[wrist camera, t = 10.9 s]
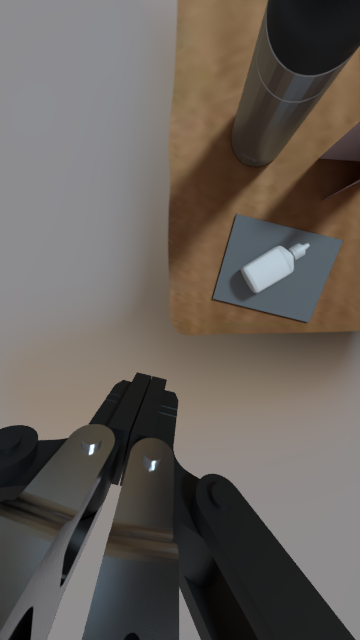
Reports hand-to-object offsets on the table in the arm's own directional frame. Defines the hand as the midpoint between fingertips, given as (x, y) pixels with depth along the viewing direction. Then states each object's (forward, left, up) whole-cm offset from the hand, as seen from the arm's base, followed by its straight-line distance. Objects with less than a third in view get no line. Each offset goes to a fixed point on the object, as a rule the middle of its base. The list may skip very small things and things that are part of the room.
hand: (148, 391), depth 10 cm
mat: (-9, +16, -33) cm, 38 cm away
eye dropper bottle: (-6, +11, -31) cm, 33 cm away
